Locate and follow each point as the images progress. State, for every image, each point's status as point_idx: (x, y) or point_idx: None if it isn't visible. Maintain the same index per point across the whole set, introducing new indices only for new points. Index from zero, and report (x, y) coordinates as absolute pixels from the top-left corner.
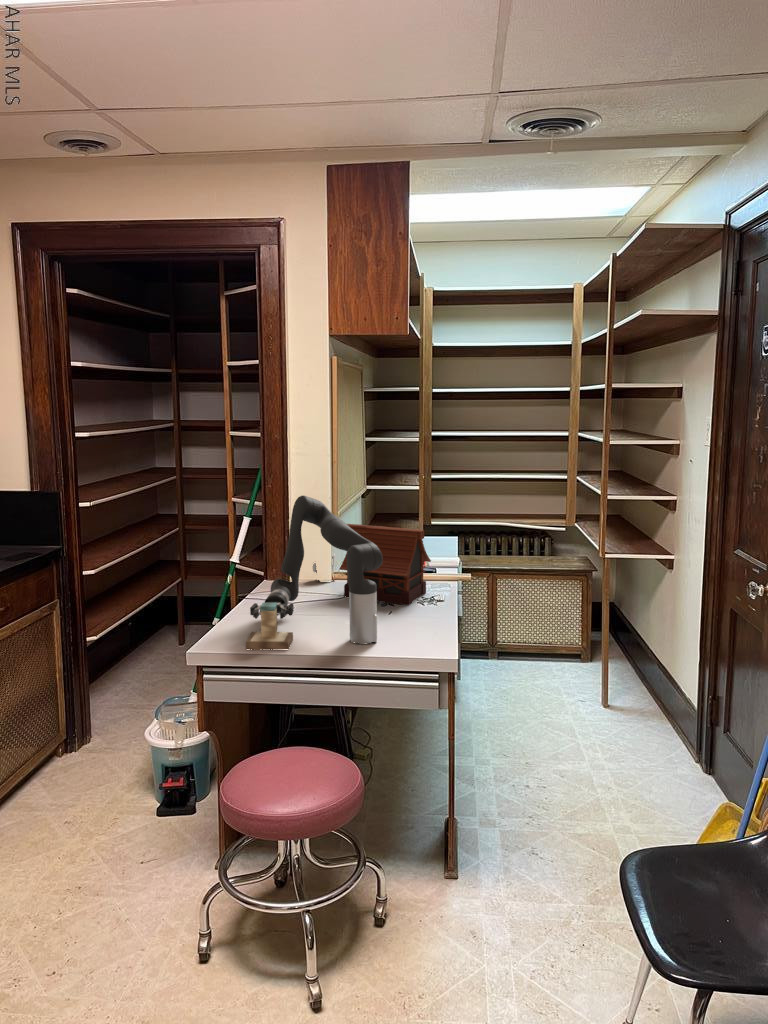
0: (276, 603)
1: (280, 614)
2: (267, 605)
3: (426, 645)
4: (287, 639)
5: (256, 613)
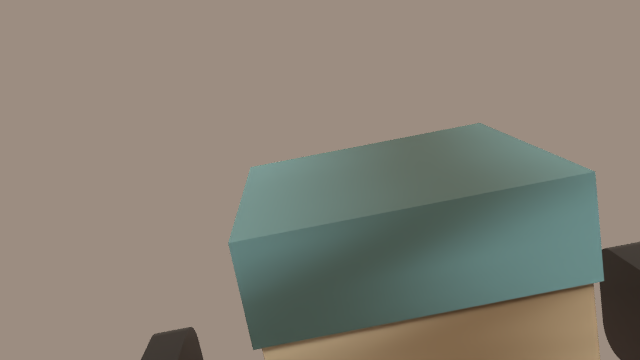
0: (235, 229)
1: (193, 345)
2: (383, 153)
3: None
4: None
5: None
